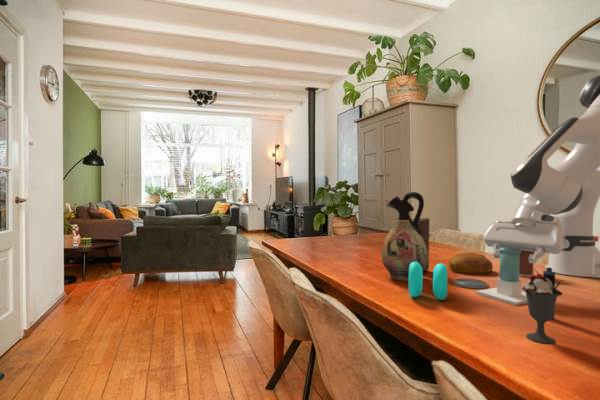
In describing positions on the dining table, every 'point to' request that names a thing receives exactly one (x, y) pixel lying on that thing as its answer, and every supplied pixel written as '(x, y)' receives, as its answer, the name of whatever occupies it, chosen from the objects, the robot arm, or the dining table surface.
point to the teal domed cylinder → (509, 264)
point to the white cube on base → (506, 292)
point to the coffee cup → (525, 263)
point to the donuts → (438, 280)
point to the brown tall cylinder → (425, 235)
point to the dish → (470, 283)
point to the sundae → (541, 304)
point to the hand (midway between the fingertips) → (513, 259)
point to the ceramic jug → (404, 239)
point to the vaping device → (550, 278)
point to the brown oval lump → (470, 263)
